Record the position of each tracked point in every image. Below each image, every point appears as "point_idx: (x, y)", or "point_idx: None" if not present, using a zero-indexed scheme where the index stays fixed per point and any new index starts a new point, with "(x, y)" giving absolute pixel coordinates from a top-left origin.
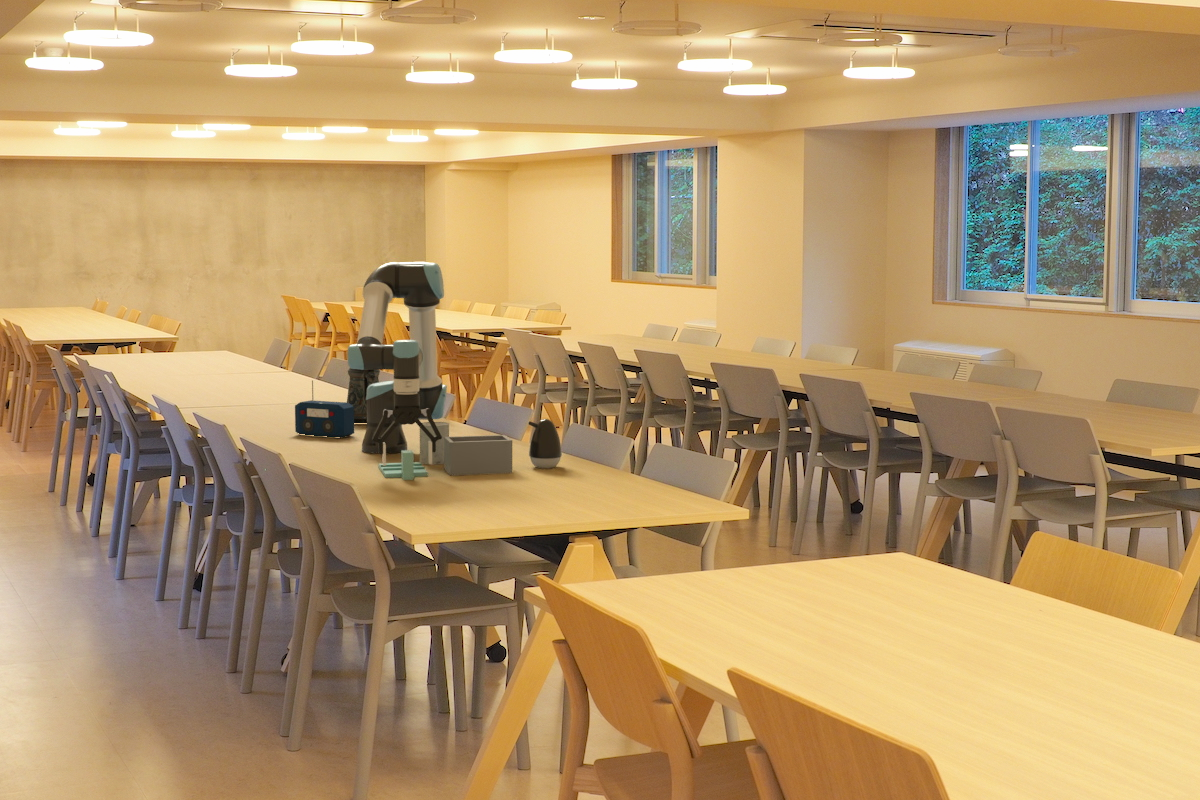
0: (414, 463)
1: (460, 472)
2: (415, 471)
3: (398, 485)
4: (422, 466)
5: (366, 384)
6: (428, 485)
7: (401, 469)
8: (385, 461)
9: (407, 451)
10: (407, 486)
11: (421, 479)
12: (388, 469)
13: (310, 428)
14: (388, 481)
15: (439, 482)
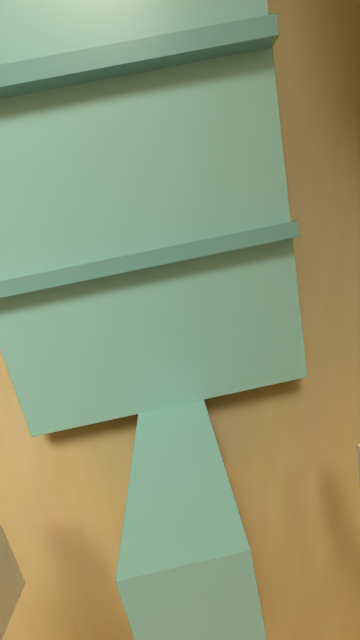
0: (211, 26)
1: None
2: (227, 350)
3: None
4: (276, 112)
5: None
6: (291, 603)
7: (137, 434)
8: (4, 626)
9: (206, 637)
10: None
11: (259, 466)
12: (21, 292)
13: None
14: (83, 523)
15: (346, 538)
